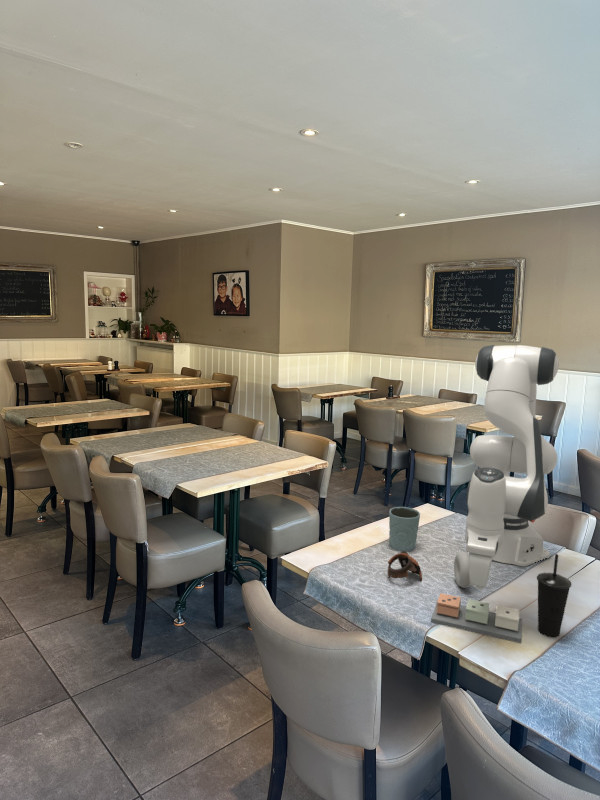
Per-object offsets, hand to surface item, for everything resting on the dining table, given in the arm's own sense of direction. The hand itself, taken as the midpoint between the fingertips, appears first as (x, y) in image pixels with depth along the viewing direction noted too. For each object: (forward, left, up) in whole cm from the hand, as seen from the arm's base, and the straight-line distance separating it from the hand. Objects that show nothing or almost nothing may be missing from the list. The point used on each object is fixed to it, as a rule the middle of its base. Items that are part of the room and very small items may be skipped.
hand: (479, 586), depth 139 cm
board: (+1, 0, -9) cm, 9 cm away
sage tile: (+1, 0, -8) cm, 8 cm away
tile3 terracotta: (+5, -4, -8) cm, 10 cm away
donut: (-9, -17, -9) cm, 21 cm away
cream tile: (-4, +5, -8) cm, 10 cm away
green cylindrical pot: (-7, -46, -9) cm, 47 cm away
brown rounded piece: (+4, -27, -10) cm, 29 cm away
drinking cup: (-13, +10, -9) cm, 19 cm away
